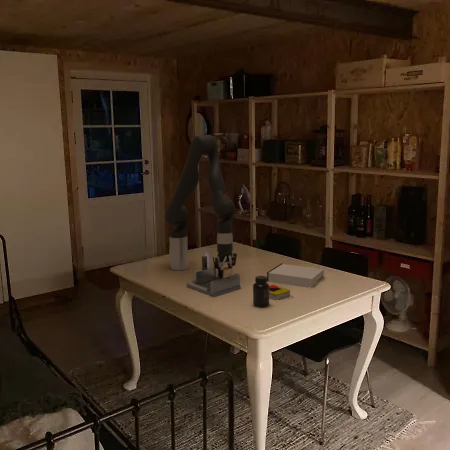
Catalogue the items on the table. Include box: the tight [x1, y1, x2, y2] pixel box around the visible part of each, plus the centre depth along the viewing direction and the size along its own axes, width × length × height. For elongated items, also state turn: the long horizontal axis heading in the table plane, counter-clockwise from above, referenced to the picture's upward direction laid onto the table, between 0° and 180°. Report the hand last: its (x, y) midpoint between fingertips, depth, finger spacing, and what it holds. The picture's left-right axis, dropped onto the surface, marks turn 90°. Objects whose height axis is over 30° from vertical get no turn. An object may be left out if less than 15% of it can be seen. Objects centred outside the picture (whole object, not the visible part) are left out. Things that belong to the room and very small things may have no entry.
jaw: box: [192, 255, 217, 284], centre depth 240 cm, size 2×12×12 cm, turn 132°
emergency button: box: [269, 284, 295, 302], centre depth 225 cm, size 9×4×15 cm
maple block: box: [216, 266, 233, 278], centre depth 246 cm, size 5×5×6 cm
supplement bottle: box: [252, 275, 270, 308], centre depth 213 cm, size 7×7×12 cm
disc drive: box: [266, 263, 325, 289], centre depth 246 cm, size 18×22×5 cm
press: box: [186, 273, 242, 298], centre depth 236 cm, size 20×16×6 cm
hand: (225, 275), depth 246 cm, fingers open, 5 cm apart
